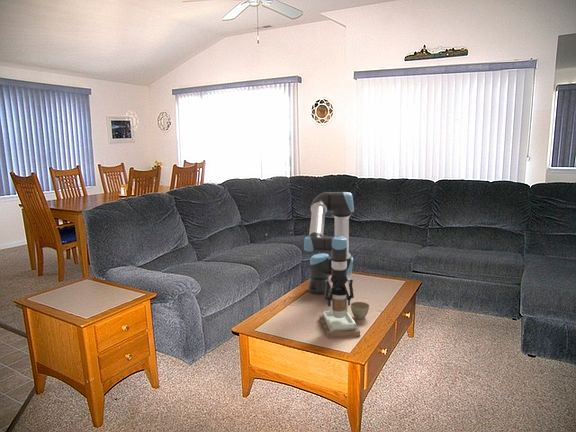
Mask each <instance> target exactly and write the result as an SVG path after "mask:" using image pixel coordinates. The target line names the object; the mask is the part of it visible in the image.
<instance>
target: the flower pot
mask: <svg viewBox="0 0 576 432" xmlns="http://www.w3.org/2000/svg"><path fill="white" fill-rule="evenodd" d="M350 310H351V313H352V315H353V317H354V318H355V319H356V320H364V319H365V318H366V317H367V315H368V313H369V310H370V304H369V303H367V302H363V301H354V302H350Z"/></svg>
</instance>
